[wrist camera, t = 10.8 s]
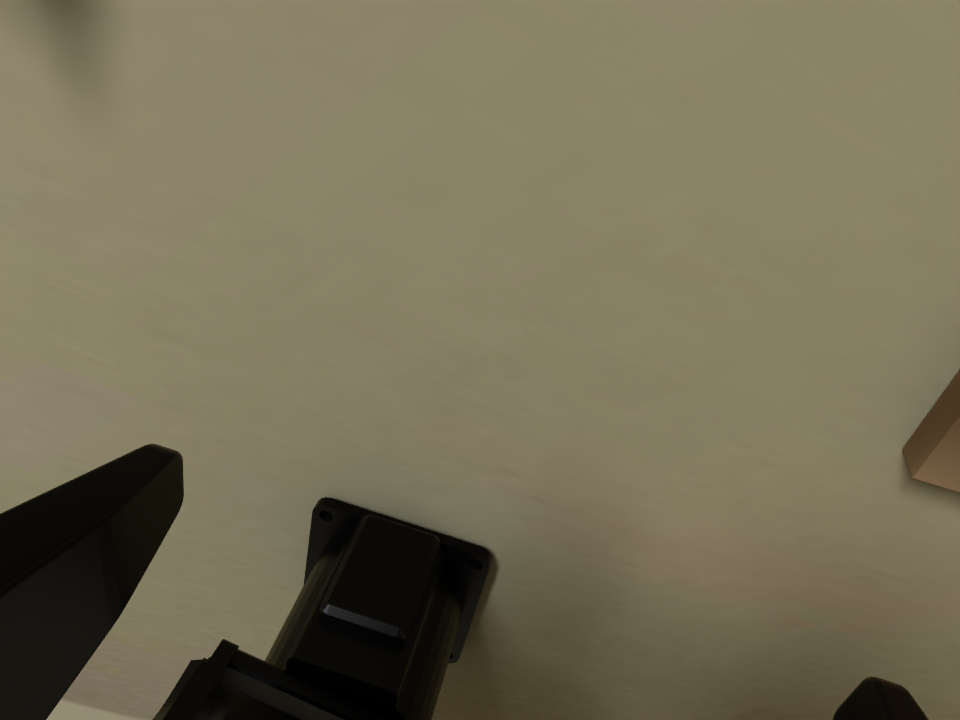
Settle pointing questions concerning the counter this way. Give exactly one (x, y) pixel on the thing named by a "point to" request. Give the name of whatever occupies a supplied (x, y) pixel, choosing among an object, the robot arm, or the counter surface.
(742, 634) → the counter surface
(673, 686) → the counter surface
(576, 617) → the counter surface
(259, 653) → the counter surface
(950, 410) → the plate
